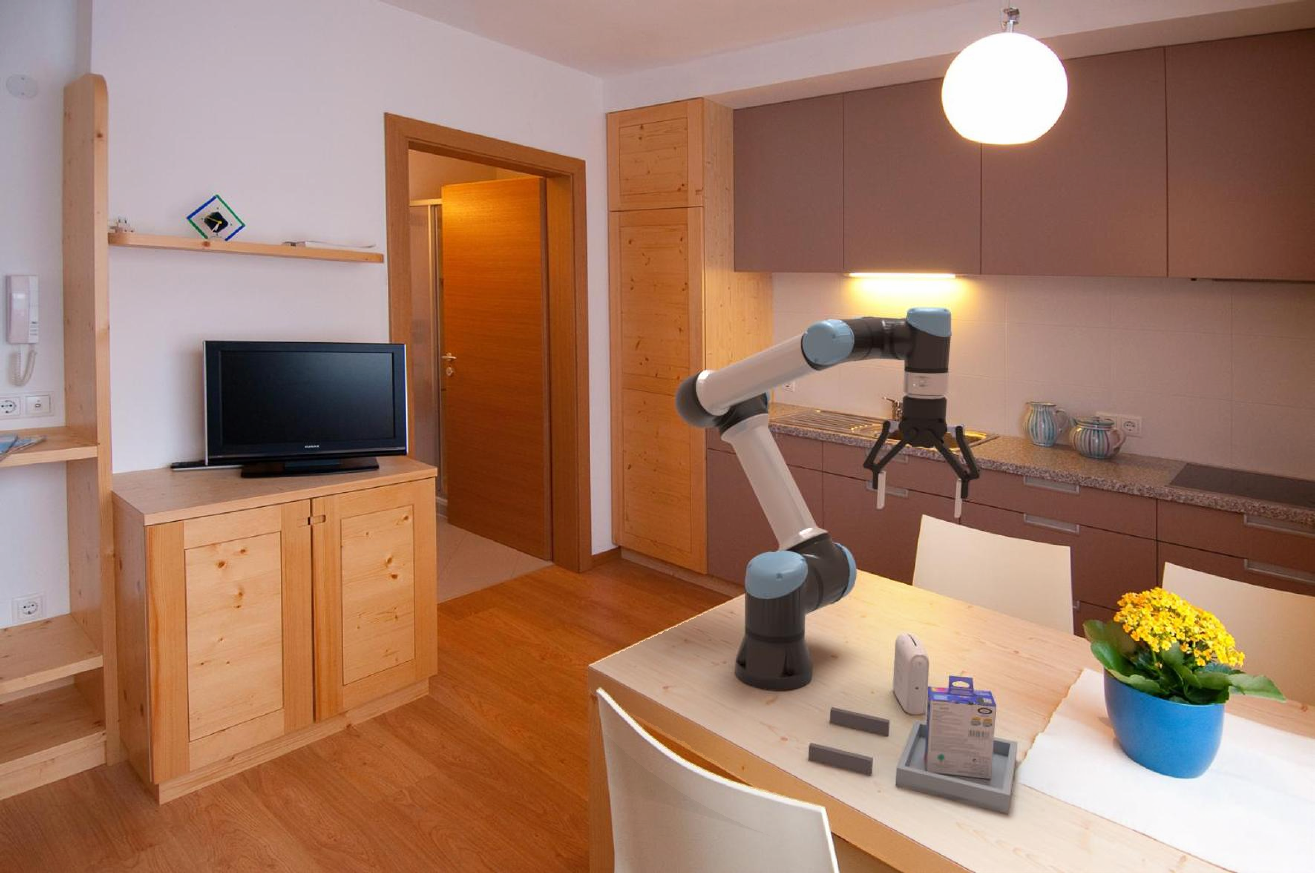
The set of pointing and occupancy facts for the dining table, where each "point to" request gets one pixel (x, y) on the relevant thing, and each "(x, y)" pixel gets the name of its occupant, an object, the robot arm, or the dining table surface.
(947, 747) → the ink cartridge box
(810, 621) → the dining table surface
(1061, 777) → the dining table surface
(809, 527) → the robot arm
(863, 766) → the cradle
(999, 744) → the tray
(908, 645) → the photo printer
